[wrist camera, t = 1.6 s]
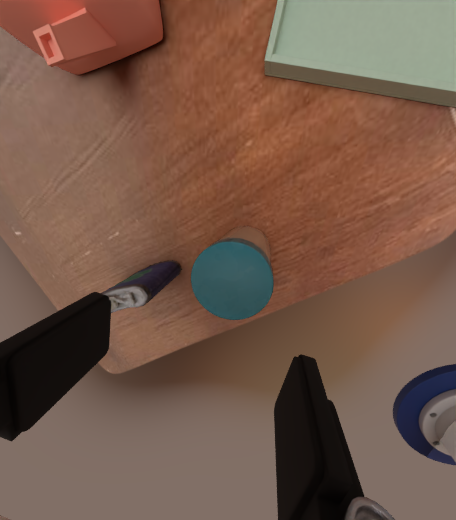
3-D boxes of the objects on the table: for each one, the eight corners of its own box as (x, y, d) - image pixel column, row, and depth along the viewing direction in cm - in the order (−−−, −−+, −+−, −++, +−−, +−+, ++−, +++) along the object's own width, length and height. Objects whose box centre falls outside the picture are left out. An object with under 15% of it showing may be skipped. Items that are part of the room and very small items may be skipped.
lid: (283, 249, 18) (285, 254, 16) (262, 318, 20) (261, 330, 18) (205, 228, 18) (198, 232, 16) (192, 297, 20) (185, 306, 19)
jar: (277, 233, 26) (282, 253, 16) (262, 280, 28) (259, 325, 18) (226, 220, 27) (201, 232, 17) (215, 267, 29) (188, 303, 19)
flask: (133, 292, 33) (73, 334, 22) (124, 275, 32) (58, 310, 22) (185, 273, 30) (143, 311, 20) (176, 255, 30) (128, 283, 19)
